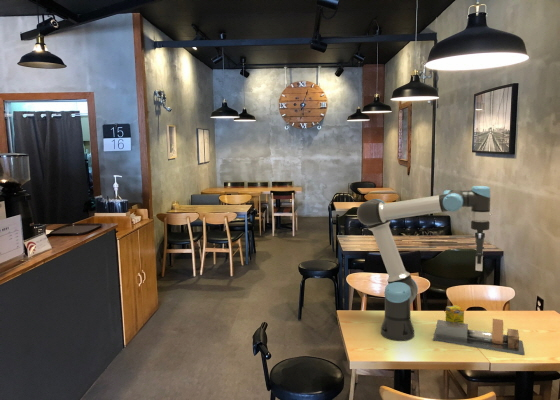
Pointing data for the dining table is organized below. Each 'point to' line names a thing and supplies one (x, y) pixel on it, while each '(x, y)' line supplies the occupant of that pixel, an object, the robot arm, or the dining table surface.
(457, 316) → the supplement box
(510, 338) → the socket block
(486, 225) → the robot arm
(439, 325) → the base
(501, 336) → the clear cylinder with block
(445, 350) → the dining table surface
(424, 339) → the dining table surface
